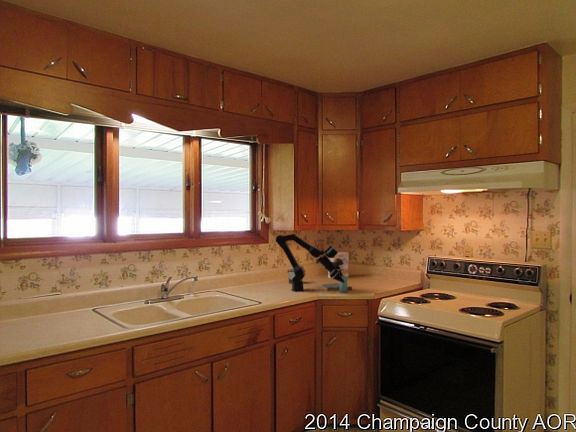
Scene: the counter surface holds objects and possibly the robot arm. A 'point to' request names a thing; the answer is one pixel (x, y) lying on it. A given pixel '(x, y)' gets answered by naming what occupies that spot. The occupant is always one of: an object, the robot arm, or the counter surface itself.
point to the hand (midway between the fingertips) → (344, 281)
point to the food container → (290, 275)
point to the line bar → (337, 288)
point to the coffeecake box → (345, 258)
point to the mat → (331, 285)
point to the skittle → (343, 285)
